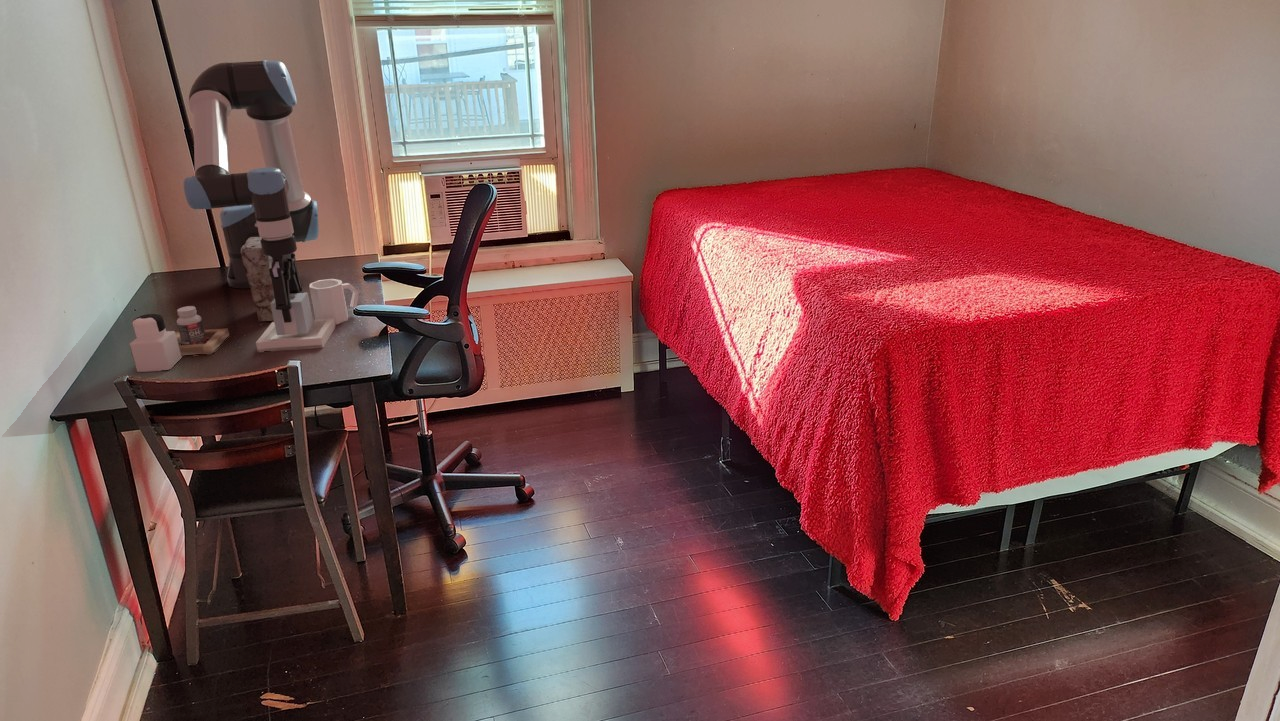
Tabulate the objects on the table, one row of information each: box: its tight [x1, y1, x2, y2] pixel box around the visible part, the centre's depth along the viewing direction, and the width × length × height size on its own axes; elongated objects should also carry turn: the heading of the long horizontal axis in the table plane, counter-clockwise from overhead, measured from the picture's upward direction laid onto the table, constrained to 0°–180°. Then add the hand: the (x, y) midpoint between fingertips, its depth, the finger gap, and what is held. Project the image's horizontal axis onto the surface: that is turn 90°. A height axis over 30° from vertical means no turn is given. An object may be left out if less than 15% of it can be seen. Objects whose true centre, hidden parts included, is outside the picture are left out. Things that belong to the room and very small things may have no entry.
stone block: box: [241, 237, 275, 322], centre depth 219 cm, size 13×7×20 cm, turn 21°
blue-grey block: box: [271, 292, 314, 335], centre depth 203 cm, size 7×7×8 cm
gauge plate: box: [175, 328, 230, 355], centre depth 202 cm, size 12×12×2 cm
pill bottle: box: [176, 305, 208, 345], centre depth 201 cm, size 5×5×10 cm
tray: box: [255, 318, 336, 353], centre depth 205 cm, size 14×15×2 cm
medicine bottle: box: [129, 313, 183, 373], centre depth 190 cm, size 7×7×12 cm
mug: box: [308, 278, 360, 326], centre depth 217 cm, size 12×9×10 cm
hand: (295, 327), depth 204 cm, fingers closed on blue-grey block, 7 cm apart
